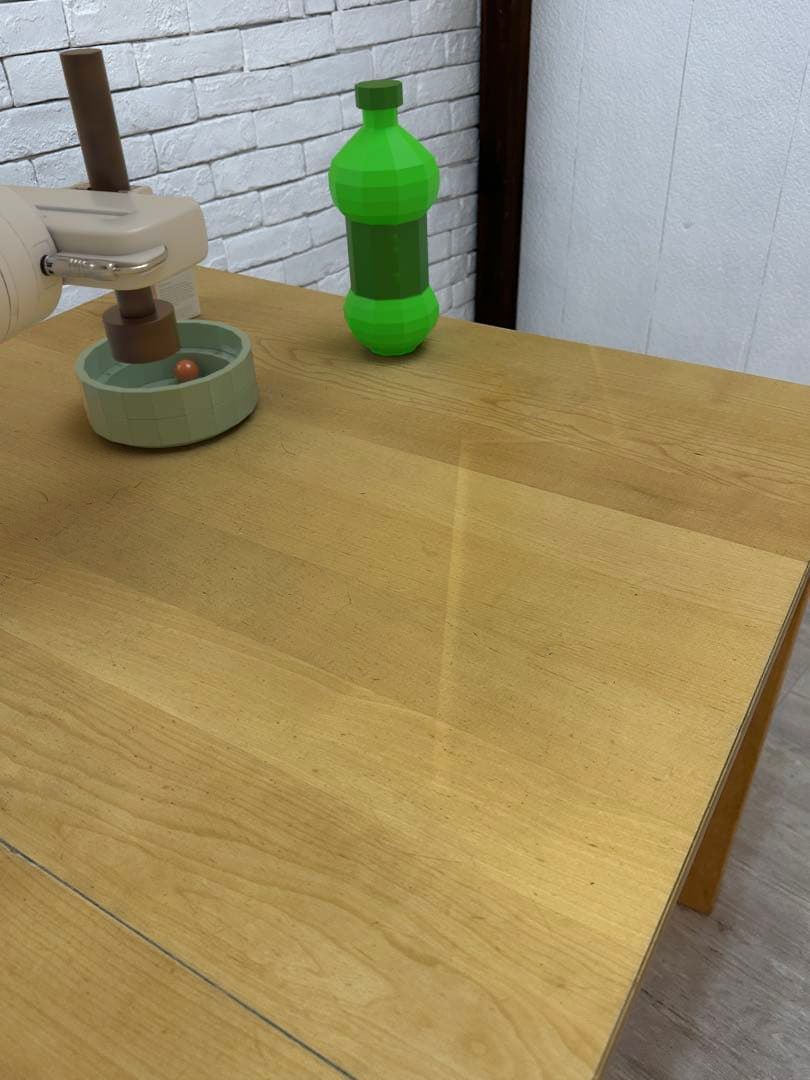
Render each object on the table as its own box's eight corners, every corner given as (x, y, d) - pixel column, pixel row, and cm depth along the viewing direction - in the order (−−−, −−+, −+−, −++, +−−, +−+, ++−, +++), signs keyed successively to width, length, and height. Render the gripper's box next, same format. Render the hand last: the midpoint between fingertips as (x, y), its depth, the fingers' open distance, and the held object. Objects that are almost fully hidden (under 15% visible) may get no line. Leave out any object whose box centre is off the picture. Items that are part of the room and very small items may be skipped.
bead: (173, 388, 88) (168, 365, 86) (180, 377, 90) (175, 355, 88) (197, 388, 87) (192, 365, 86) (204, 377, 89) (199, 355, 88)
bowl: (64, 453, 80) (46, 392, 76) (125, 375, 92) (111, 319, 89) (237, 455, 78) (226, 392, 75) (275, 375, 91) (267, 318, 87)
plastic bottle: (347, 328, 100) (325, 76, 85) (443, 325, 99) (437, 71, 85) (339, 367, 92) (313, 96, 77) (443, 364, 91) (436, 91, 76)
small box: (123, 314, 106) (101, 223, 100) (163, 300, 109) (144, 211, 103) (162, 330, 102) (142, 236, 95) (203, 315, 105) (186, 223, 99)
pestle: (100, 364, 66) (22, 59, 55) (125, 335, 71) (57, 46, 59) (169, 364, 66) (105, 56, 54) (189, 335, 70) (134, 43, 58)
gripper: (119, 218, 47) (246, 154, 57) (-173, 194, 53) (-10, 141, 64) (144, 332, 51) (259, 253, 61) (-131, 298, 57) (16, 231, 67)
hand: (120, 195), depth 62 cm, fingers closed on pestle, 2 cm apart
